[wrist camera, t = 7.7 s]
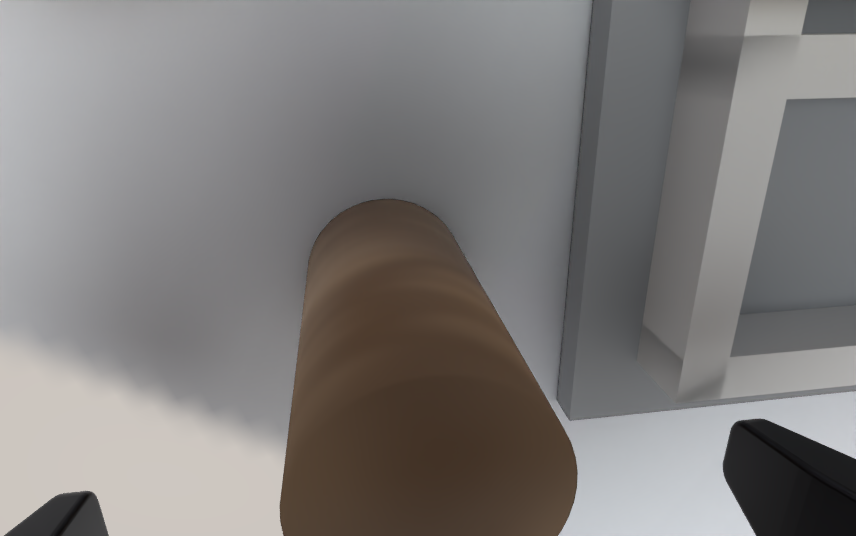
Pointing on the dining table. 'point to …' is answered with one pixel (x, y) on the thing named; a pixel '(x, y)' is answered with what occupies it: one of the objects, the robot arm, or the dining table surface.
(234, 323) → the dining table surface
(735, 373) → the dock
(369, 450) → the peg
